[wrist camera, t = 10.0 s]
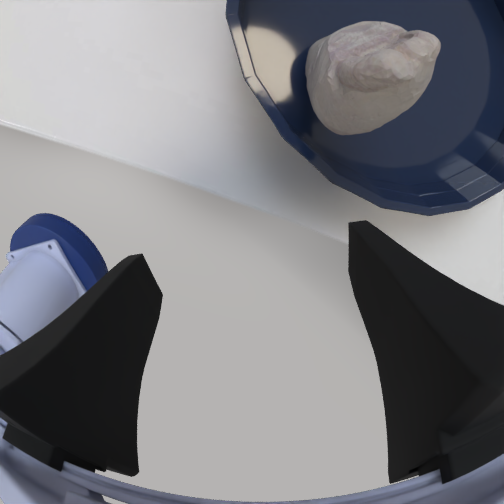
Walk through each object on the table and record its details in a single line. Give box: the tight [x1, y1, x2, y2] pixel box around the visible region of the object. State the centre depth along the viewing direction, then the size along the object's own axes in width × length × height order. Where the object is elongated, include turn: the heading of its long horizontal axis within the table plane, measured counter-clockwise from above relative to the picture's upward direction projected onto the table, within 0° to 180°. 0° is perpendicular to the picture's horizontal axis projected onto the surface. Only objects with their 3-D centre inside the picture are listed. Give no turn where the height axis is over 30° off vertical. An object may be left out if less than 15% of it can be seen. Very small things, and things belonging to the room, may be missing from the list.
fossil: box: [305, 21, 441, 135], centre depth 10 cm, size 6×4×10 cm, turn 154°
